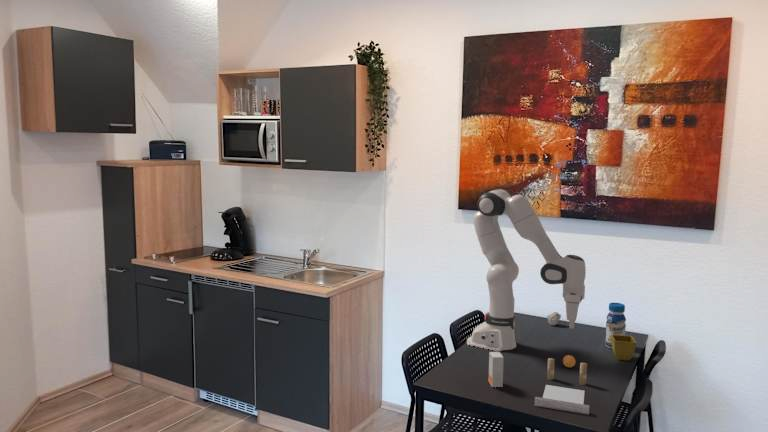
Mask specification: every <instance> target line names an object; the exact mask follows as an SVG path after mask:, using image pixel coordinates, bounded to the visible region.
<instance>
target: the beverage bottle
mask: <svg viewBox="0 0 768 432" xmlns="http://www.w3.org/2000/svg"><path fill="white" fill-rule="evenodd" d="M625 309H626V305H625V304H624V303H621V302H610V303H608V311H609V312H608V314H607V316H606V319H607V320H606V322H605V341H604V342H605V343H604V345H605V347H607V348H609V349H612V340H611V335H623V336H626V328H627V325H626V321H627V318H626V316H625V314H624V313H625Z"/></svg>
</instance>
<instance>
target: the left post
mask: <svg viewBox="0 0 768 432" xmlns="http://www.w3.org/2000/svg"><path fill="white" fill-rule="evenodd" d="M546 379H547V380H549V381H554V380H555V358H552V357H550V358H549V357H548V358H547V373H546Z"/></svg>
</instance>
